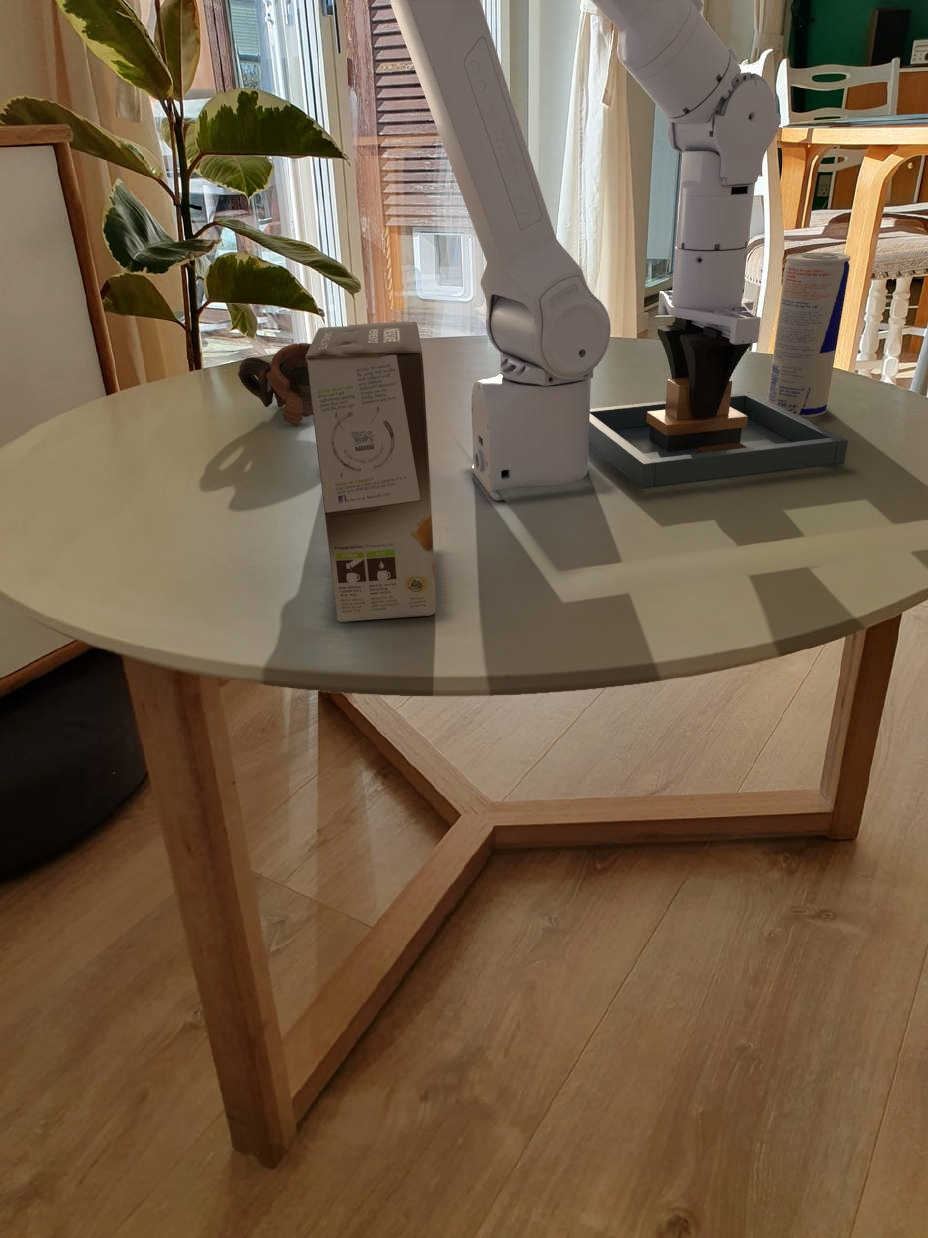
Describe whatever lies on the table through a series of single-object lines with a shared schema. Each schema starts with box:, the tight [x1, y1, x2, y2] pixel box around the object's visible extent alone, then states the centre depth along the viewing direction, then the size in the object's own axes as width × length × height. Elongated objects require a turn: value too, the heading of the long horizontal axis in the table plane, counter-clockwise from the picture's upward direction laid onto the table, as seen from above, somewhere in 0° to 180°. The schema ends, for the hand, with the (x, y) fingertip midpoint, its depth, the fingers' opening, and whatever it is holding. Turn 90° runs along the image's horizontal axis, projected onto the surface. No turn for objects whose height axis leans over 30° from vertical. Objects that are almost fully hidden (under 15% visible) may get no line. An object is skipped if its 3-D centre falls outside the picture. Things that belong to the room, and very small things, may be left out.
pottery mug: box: [237, 342, 313, 427], centre depth 93 cm, size 12×10×8 cm
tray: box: [589, 391, 849, 490], centre depth 78 cm, size 18×16×3 cm
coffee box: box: [305, 321, 437, 623], centre depth 54 cm, size 9×6×16 cm
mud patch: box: [697, 443, 748, 454], centre depth 74 cm, size 4×4×1 cm
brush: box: [646, 377, 748, 452], centre depth 78 cm, size 8×4×6 cm, turn 103°
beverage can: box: [766, 252, 851, 418], centre depth 84 cm, size 6×6×15 cm
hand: (696, 411), depth 78 cm, fingers closed on brush, 2 cm apart
